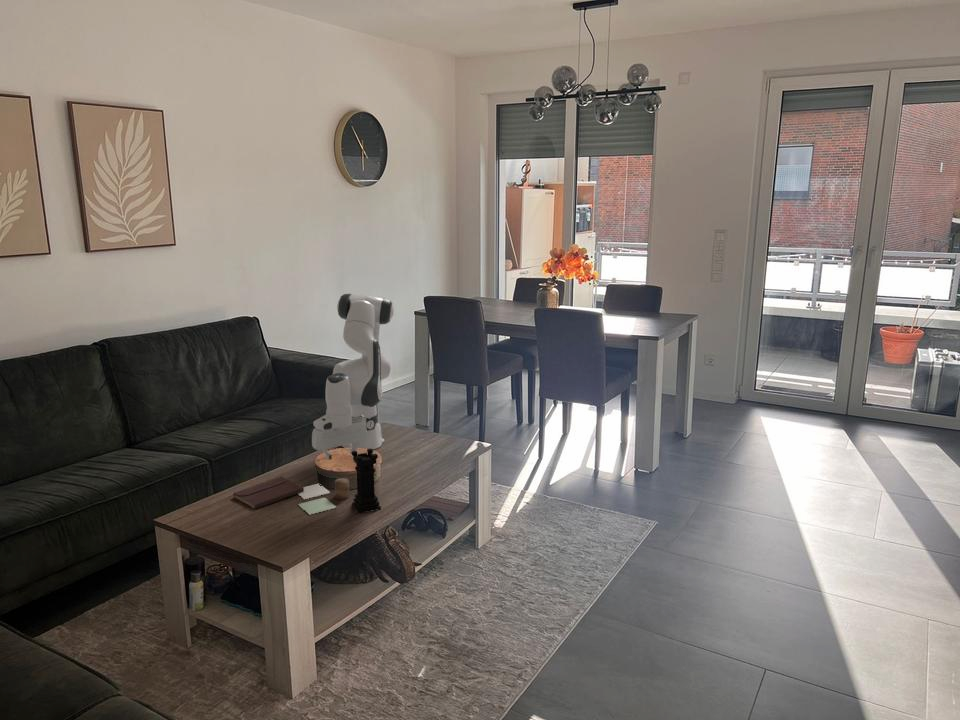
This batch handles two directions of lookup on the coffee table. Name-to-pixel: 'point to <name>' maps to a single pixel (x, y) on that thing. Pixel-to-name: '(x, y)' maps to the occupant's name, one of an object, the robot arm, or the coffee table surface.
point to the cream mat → (313, 491)
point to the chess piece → (365, 482)
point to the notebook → (268, 492)
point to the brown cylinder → (342, 488)
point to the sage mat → (317, 506)
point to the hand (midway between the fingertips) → (341, 456)
